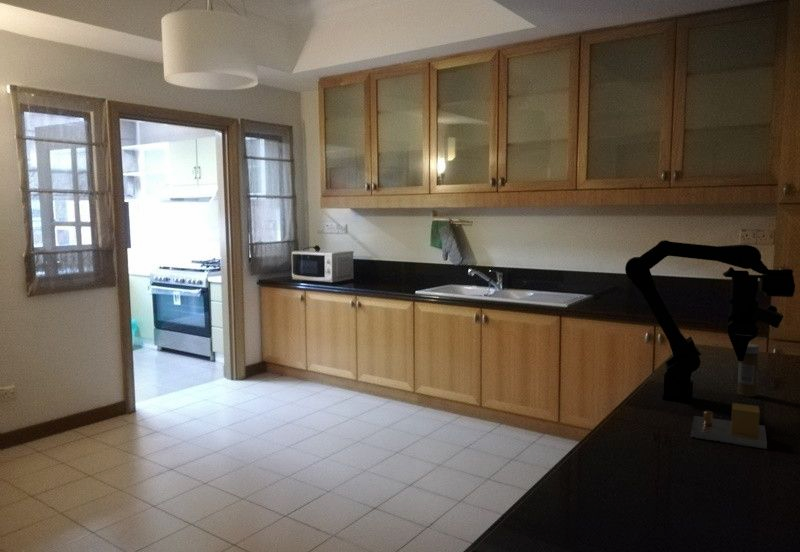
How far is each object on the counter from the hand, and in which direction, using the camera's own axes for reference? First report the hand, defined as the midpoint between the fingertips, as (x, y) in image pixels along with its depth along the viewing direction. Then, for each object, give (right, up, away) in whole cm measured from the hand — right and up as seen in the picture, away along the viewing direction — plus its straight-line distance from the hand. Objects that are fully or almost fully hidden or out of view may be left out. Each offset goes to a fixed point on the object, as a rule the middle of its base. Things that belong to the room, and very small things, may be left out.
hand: (740, 357), depth 153 cm
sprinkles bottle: (+7, -11, +9) cm, 16 cm away
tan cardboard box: (-12, -13, -22) cm, 28 cm away
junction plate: (-14, -14, -20) cm, 29 cm away
